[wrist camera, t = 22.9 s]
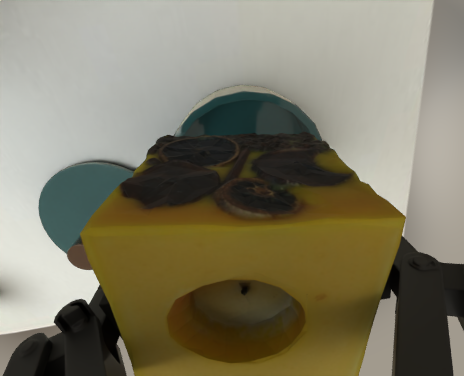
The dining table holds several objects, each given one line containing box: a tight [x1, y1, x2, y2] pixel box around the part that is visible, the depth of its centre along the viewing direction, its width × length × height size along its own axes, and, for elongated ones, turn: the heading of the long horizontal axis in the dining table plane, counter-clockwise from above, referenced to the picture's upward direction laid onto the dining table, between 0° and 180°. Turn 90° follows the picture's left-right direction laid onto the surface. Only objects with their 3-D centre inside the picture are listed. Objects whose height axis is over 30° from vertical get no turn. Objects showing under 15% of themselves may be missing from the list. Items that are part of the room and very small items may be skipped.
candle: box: [80, 132, 406, 376], centre depth 14 cm, size 10×10×10 cm
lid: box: [39, 162, 134, 270], centre depth 34 cm, size 19×19×8 cm
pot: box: [174, 85, 322, 141], centre depth 31 cm, size 18×18×6 cm
